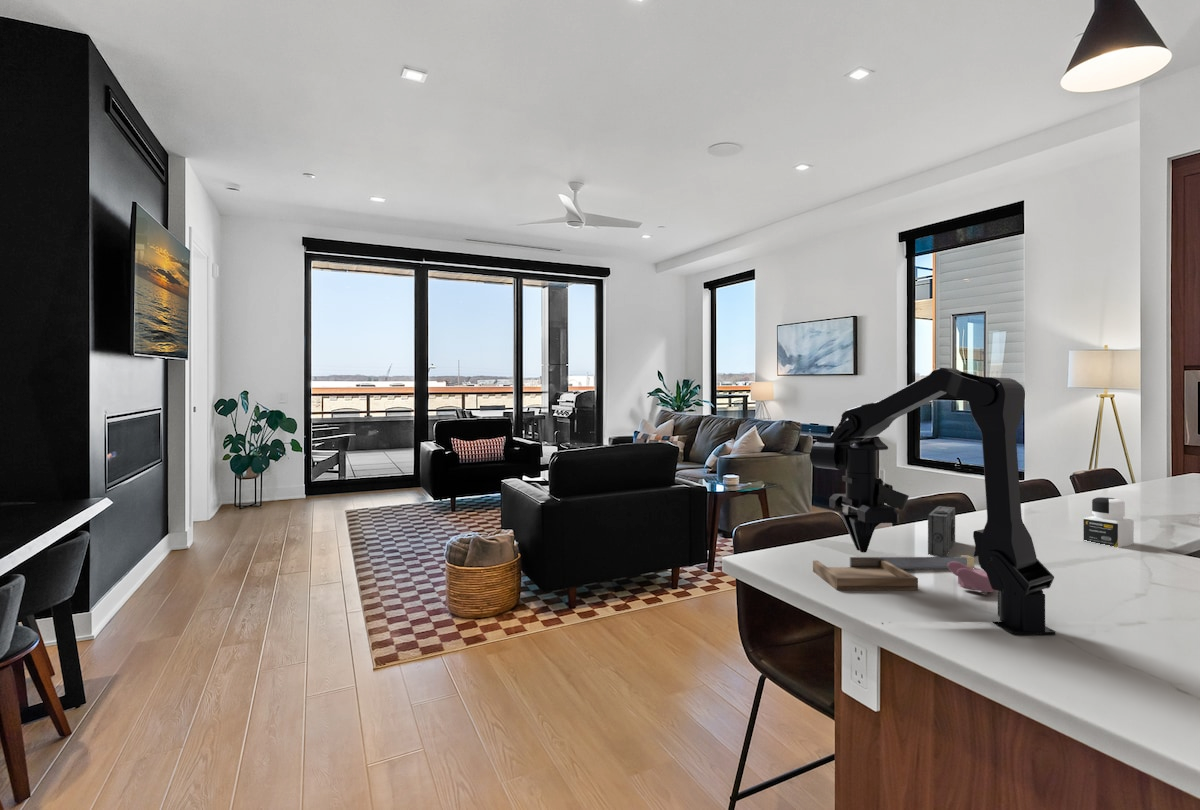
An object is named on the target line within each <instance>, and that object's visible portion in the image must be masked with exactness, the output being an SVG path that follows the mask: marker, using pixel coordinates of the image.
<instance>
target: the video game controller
mask: <svg viewBox="0 0 1200 810" xmlns="http://www.w3.org/2000/svg"><path fill="white" fill-rule="evenodd" d="M947 566H948V568H949V569H948V571H949V572H951V573H952V574H954V575H955V576H956V577H957V584H959V585H961V587H962V588H966V589H970V590H971V589H972V590H976V591H980V592H979V593H980V594H982V595H984V596H986V595H988V594H989V593H988V592H990V593H992V592H993V593H994V592H996V590H993V589H992V587H991V584H990V582H989V579H988V576H987V573H986V572H985V571H984V570H982V569H975V568H974V569H973V568H970V567H968V566H966V565H964V564H962V563H960V562H957V561H951V562H949V563H948V565H947Z"/></svg>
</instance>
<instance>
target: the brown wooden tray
mask: <svg viewBox="0 0 1200 810" xmlns="http://www.w3.org/2000/svg"><path fill="white" fill-rule="evenodd" d="M812 572H813V573H814V574H816V575H817V576H818V577H820V578H821V579H823V580H824V581H825V582H826V583H828V585H829V586H831V587H832V588H834V589H835V590H836V591H919V578H918V577H916V576H914V575H913V574H911V573H909V572H907V571H905V569H900V568H898V567H896V566H895V565H893V564H891V563H889V562H887V561H881V567H850V566H849V567H847V566H841V567H838V566H836V567H835V566H832V567H831V566H830V567H829V566H826V565H825V564H823V563H822V562H820V561H819V560H812Z"/></svg>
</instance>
